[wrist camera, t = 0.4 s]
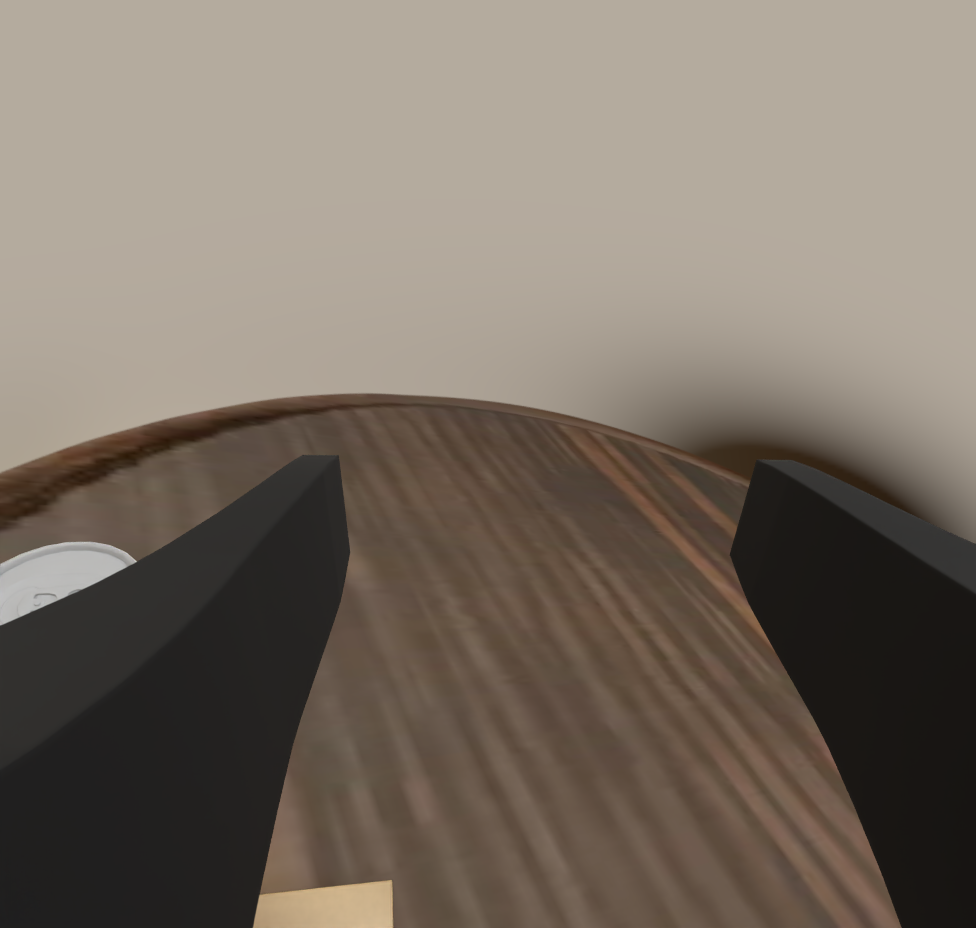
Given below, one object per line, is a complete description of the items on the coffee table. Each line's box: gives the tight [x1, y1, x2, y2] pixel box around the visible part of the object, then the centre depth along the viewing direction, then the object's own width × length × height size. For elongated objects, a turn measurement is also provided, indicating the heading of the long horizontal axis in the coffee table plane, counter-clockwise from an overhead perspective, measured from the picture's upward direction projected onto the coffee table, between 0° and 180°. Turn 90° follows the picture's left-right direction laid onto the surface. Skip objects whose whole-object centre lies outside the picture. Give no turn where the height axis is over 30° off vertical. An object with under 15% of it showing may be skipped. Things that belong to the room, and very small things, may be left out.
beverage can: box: [0, 542, 137, 625], centre depth 20 cm, size 5×5×12 cm
